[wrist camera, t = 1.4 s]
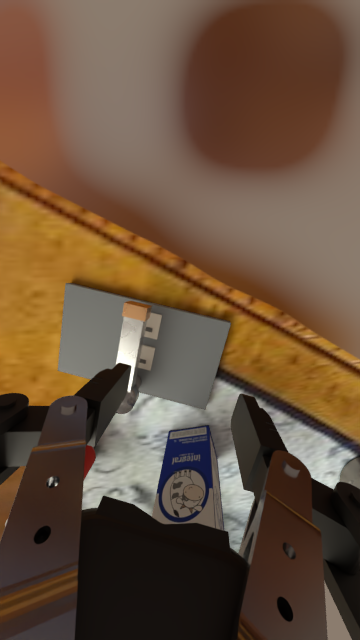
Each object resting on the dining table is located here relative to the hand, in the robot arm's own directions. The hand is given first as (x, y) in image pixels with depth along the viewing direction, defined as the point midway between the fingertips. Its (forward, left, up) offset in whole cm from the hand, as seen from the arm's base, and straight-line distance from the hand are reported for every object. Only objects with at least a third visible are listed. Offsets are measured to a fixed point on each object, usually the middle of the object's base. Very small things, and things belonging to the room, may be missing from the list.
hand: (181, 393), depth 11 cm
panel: (+7, +5, -18) cm, 20 cm away
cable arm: (+7, +6, -14) cm, 16 cm away
